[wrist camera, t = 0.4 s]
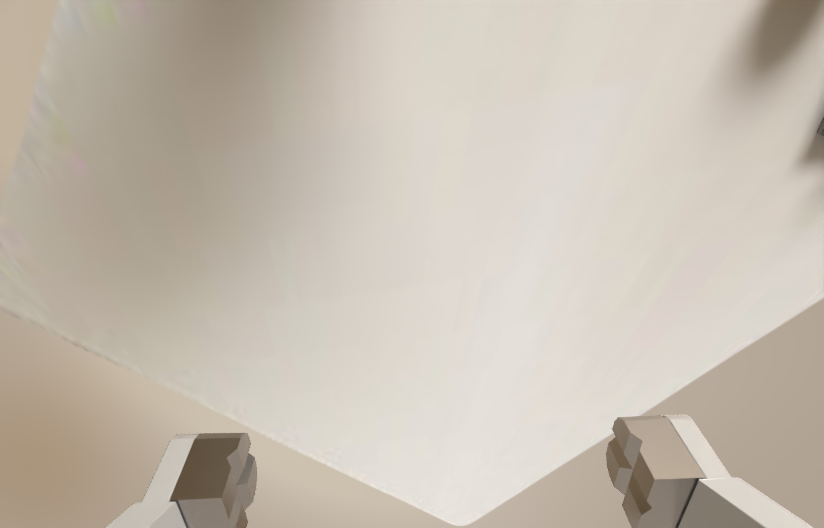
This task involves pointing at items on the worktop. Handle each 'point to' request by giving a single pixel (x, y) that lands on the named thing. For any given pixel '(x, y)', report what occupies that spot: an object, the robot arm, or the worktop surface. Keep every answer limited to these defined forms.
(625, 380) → the worktop surface
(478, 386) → the worktop surface
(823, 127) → the tray
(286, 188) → the worktop surface
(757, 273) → the worktop surface
